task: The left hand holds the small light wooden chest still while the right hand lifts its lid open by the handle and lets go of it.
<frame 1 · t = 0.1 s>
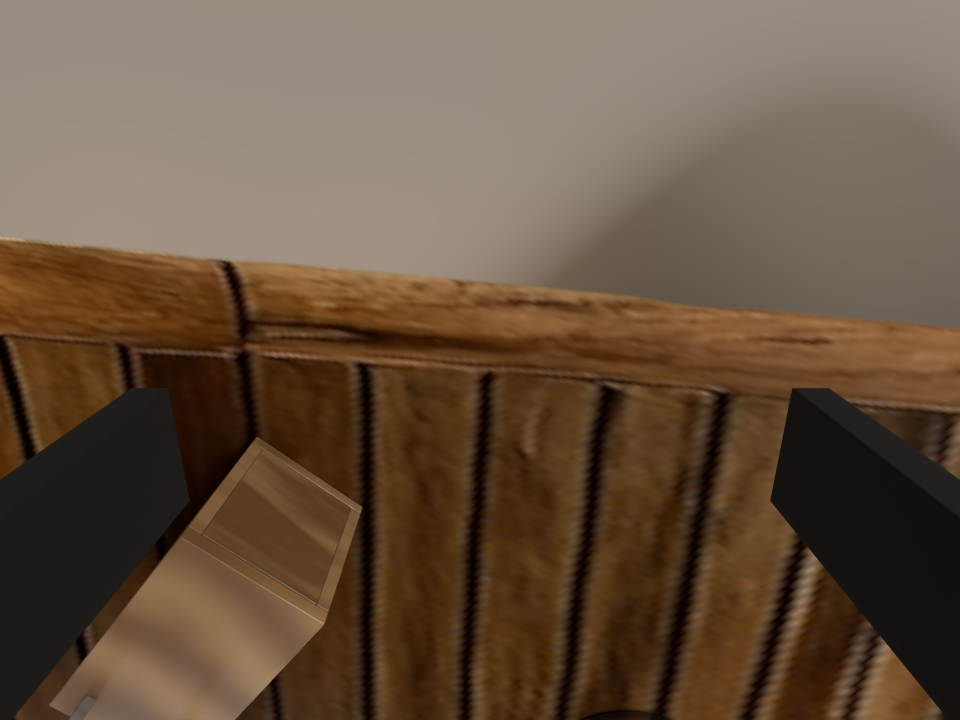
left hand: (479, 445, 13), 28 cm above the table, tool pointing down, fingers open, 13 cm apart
chest: (254, 539, 47), on the table
lid: (154, 714, 33), point 15 cm above the table, hinge at 0.0°
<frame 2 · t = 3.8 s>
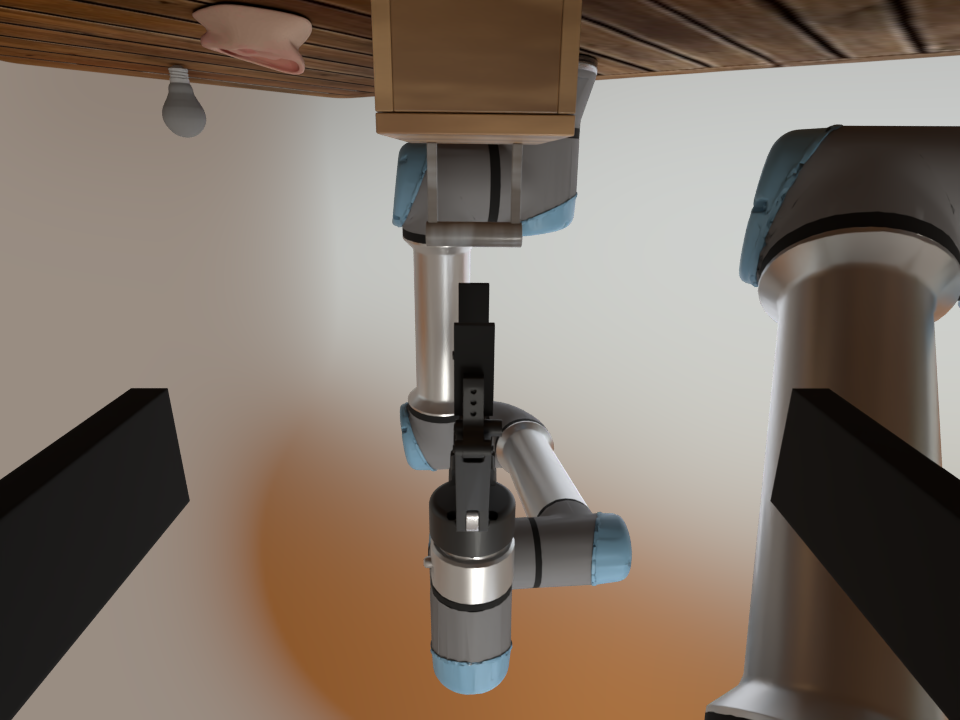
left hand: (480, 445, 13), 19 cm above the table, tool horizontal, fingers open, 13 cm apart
light bulb: (177, 64, 88), on the table
lid: (474, 193, 37), point 15 cm above the table, hinge at 0.0°
anatomical model: (255, 18, 59), on the table
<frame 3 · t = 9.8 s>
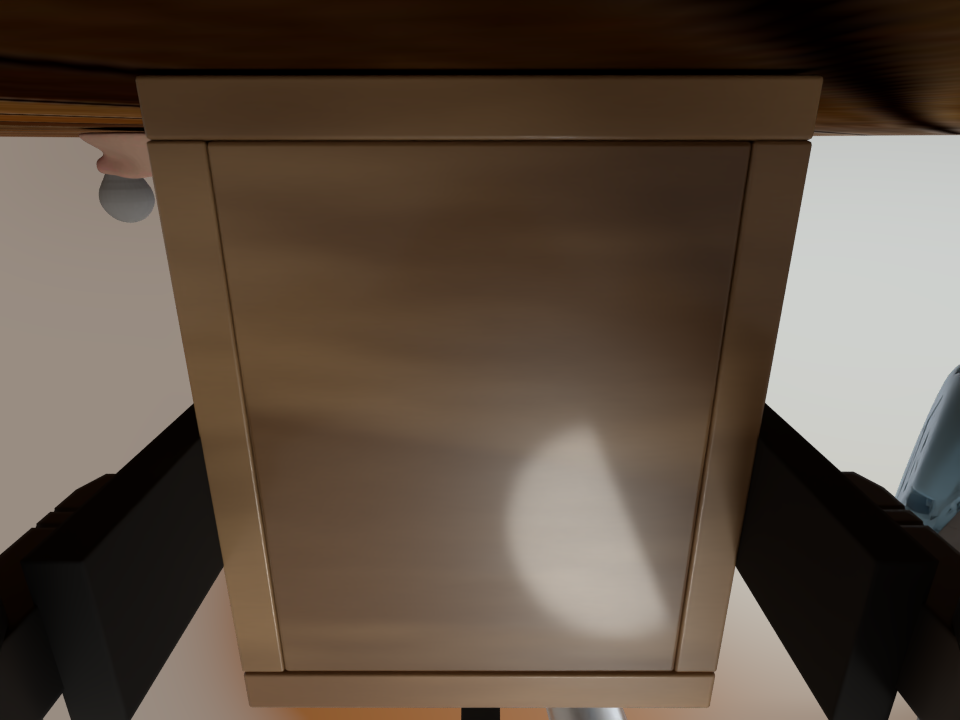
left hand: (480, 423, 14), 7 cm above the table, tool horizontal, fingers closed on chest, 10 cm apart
chest: (479, 107, 16), on the table, touching left hand
light bulb: (115, 136, 71), on the table
lid: (479, 568, 21), point 15 cm above the table, hinge at 0.0°
anatomical model: (174, 130, 42), on the table
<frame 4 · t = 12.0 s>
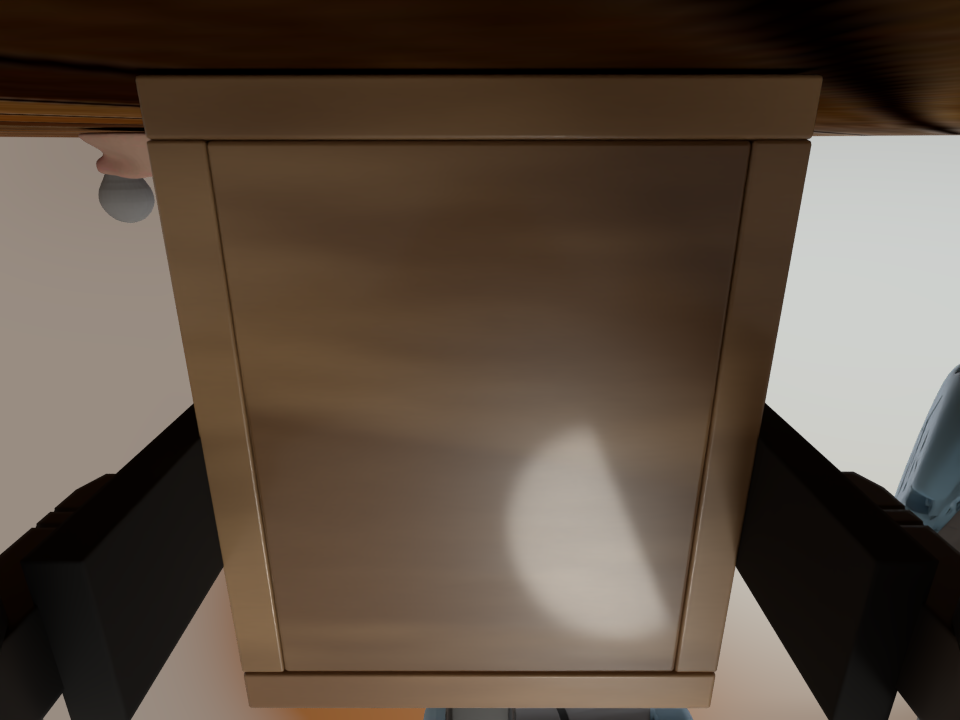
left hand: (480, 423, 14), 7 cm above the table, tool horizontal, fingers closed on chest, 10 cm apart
chest: (479, 107, 16), on the table, touching left hand
light bulb: (114, 136, 71), on the table
lid: (480, 570, 21), point 15 cm above the table, hinge at 0.4°, touching right hand
anatomical model: (174, 130, 42), on the table
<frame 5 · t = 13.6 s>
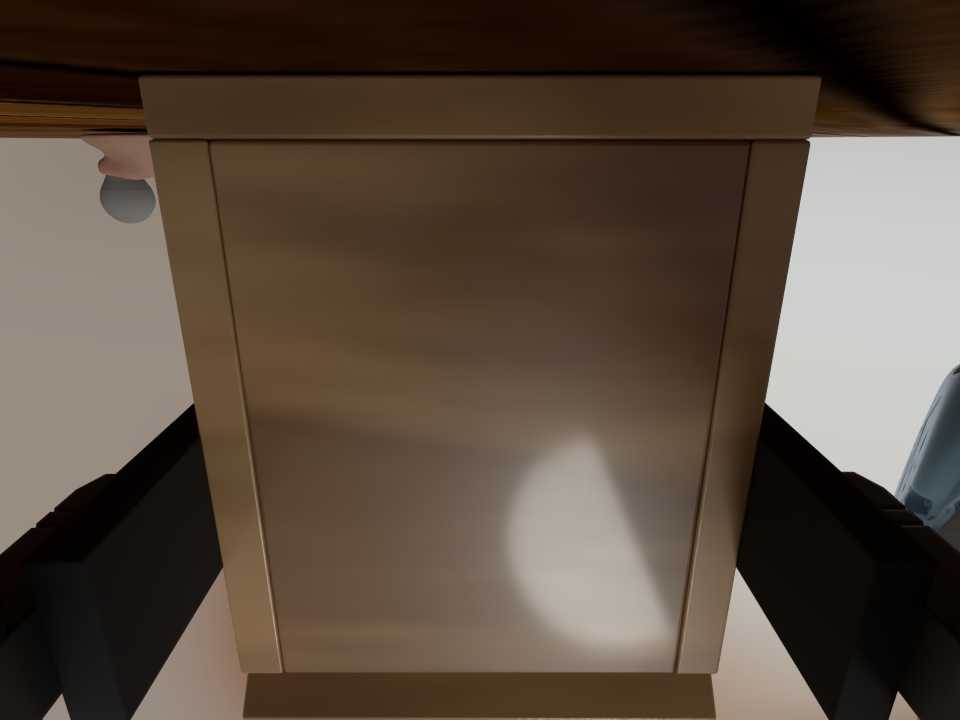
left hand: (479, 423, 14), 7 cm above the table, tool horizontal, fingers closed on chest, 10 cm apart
chest: (480, 110, 16), on the table, touching left hand
light bulb: (116, 137, 72), on the table
anatomical model: (175, 131, 42), on the table
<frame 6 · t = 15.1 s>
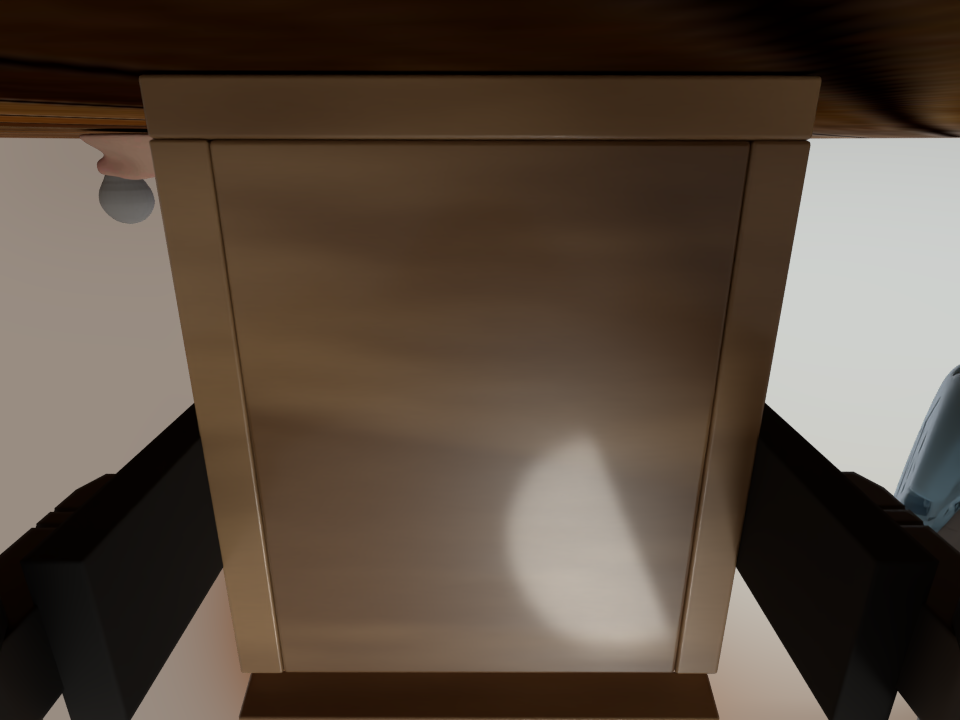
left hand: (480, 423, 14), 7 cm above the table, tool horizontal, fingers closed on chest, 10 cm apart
chest: (480, 110, 16), on the table, touching left hand
light bulb: (115, 137, 72), on the table
anatomical model: (175, 132, 42), on the table
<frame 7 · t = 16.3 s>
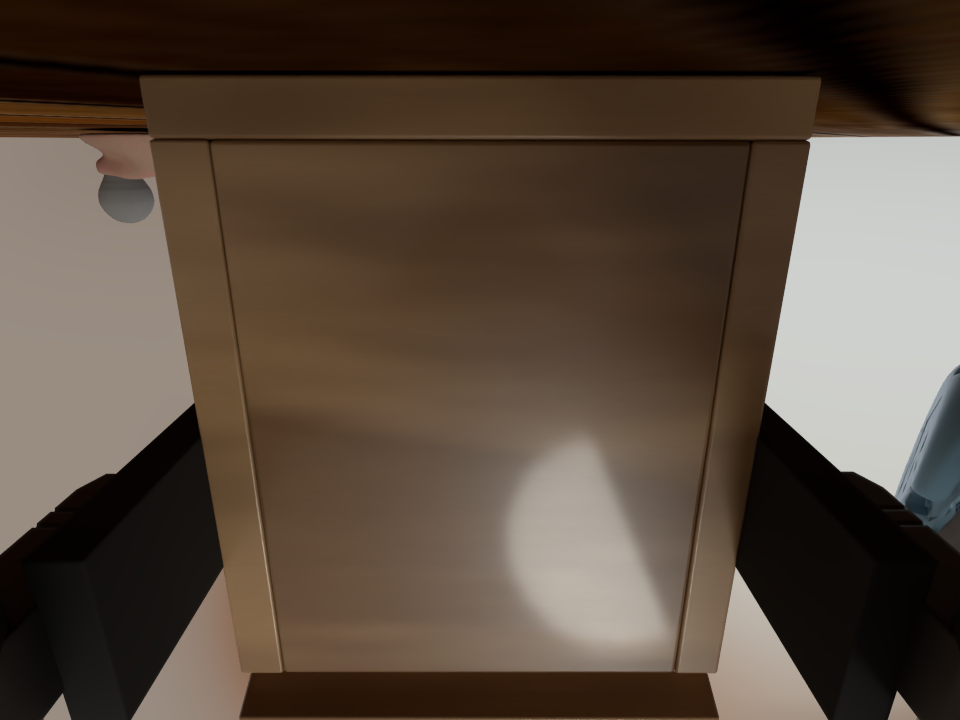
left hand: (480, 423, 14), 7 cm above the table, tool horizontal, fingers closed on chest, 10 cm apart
chest: (480, 110, 16), on the table, touching left hand
light bulb: (114, 137, 71), on the table
anatomical model: (174, 131, 42), on the table
when the left hand's fingers open (7 cm above the table, at t = 19.1 s): chest stays where it is, on the table.
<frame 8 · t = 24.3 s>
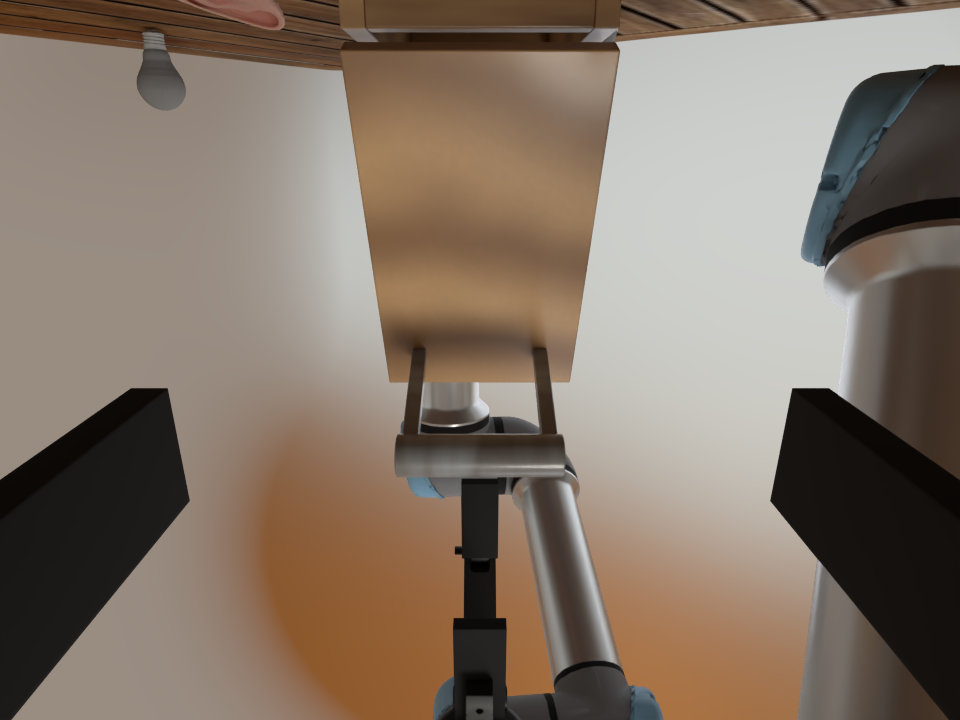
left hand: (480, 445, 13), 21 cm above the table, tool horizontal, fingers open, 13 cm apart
light bulb: (151, 28, 80), on the table
lid: (479, 297, 24), point 20 cm above the table, hinge at 66.3°
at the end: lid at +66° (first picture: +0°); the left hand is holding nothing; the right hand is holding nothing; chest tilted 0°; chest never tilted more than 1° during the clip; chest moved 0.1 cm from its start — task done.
